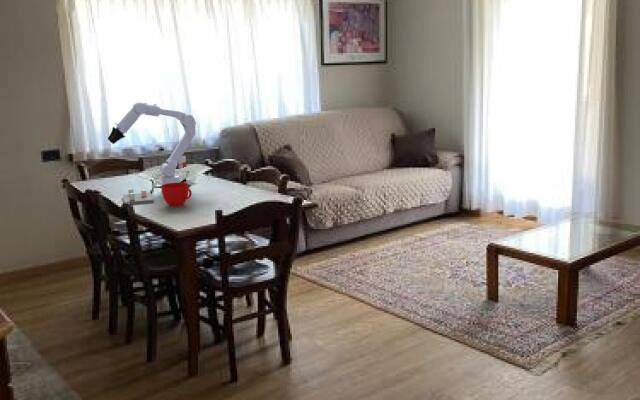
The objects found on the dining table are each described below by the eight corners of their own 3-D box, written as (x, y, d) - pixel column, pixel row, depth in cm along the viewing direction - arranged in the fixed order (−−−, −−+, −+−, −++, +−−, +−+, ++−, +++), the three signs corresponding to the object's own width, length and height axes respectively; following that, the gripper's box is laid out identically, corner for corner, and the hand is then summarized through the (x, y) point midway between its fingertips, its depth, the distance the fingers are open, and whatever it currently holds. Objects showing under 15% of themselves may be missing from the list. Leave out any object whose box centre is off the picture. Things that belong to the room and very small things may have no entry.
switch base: (150, 195, 320) (150, 192, 319) (153, 202, 302) (153, 199, 302) (123, 197, 315) (122, 194, 315) (124, 205, 298) (124, 202, 297)
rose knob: (146, 195, 311) (145, 189, 310) (146, 196, 309) (146, 190, 308) (141, 195, 310) (140, 189, 309) (141, 196, 308) (141, 190, 307)
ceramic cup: (182, 210, 285) (180, 189, 283) (157, 206, 294) (155, 186, 292) (201, 204, 296) (199, 184, 294) (176, 201, 305) (174, 181, 302)
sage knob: (134, 198, 303) (134, 192, 303) (135, 199, 301) (134, 193, 300) (129, 199, 302) (129, 193, 302) (130, 200, 300) (129, 194, 300)
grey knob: (133, 194, 314) (132, 188, 314) (133, 194, 312) (133, 189, 311) (128, 194, 314) (128, 188, 313) (128, 195, 311) (128, 189, 311)
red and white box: (180, 183, 351) (178, 157, 348) (173, 182, 352) (171, 157, 348) (188, 179, 361) (186, 154, 358) (181, 179, 362) (179, 154, 359)
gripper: (119, 114, 314) (101, 134, 312) (124, 118, 302) (106, 138, 300) (130, 123, 318) (112, 143, 316) (135, 127, 305) (117, 147, 304)
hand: (110, 141), depth 308 cm, fingers open, 7 cm apart
